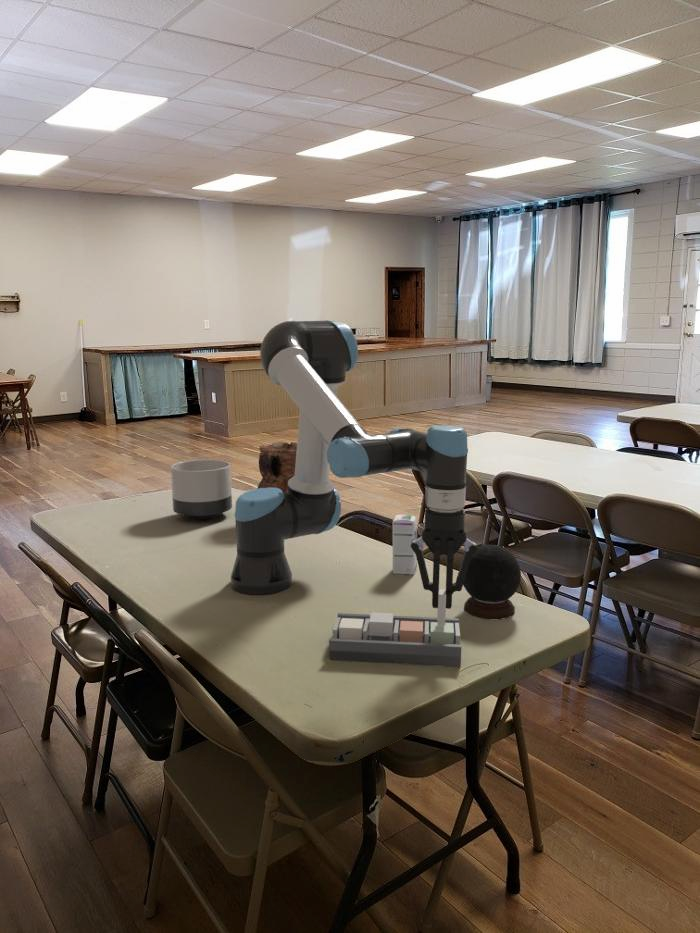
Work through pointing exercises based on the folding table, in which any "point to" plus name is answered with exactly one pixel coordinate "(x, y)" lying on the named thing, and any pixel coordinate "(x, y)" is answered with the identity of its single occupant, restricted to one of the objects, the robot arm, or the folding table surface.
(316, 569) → the folding table surface
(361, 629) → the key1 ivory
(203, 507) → the planter
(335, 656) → the keypad board
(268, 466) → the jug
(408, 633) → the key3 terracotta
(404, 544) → the syrup box
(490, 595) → the black ball on stand
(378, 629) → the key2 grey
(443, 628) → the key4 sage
